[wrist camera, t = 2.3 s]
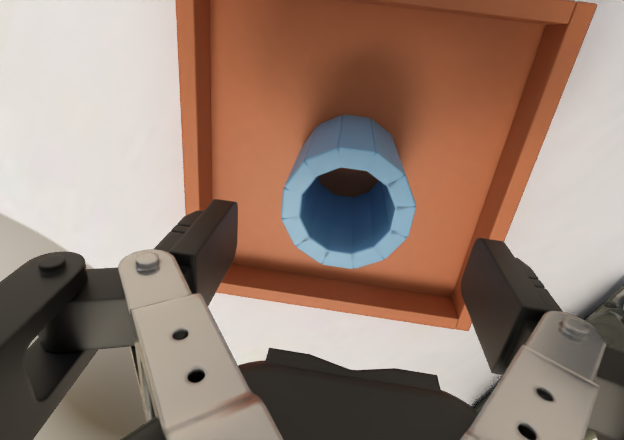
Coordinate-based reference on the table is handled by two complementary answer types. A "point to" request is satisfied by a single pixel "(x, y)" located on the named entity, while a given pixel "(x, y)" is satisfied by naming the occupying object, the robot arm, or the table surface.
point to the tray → (383, 110)
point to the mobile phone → (602, 332)
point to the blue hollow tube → (348, 210)
